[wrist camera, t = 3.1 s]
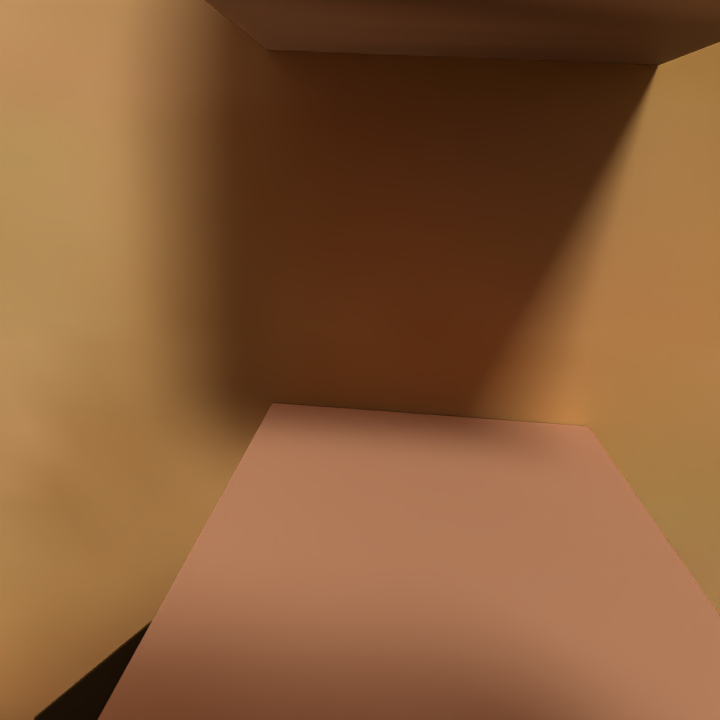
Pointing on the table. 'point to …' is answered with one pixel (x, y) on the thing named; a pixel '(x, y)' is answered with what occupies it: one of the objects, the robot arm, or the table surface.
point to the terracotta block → (426, 583)
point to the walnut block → (484, 27)
